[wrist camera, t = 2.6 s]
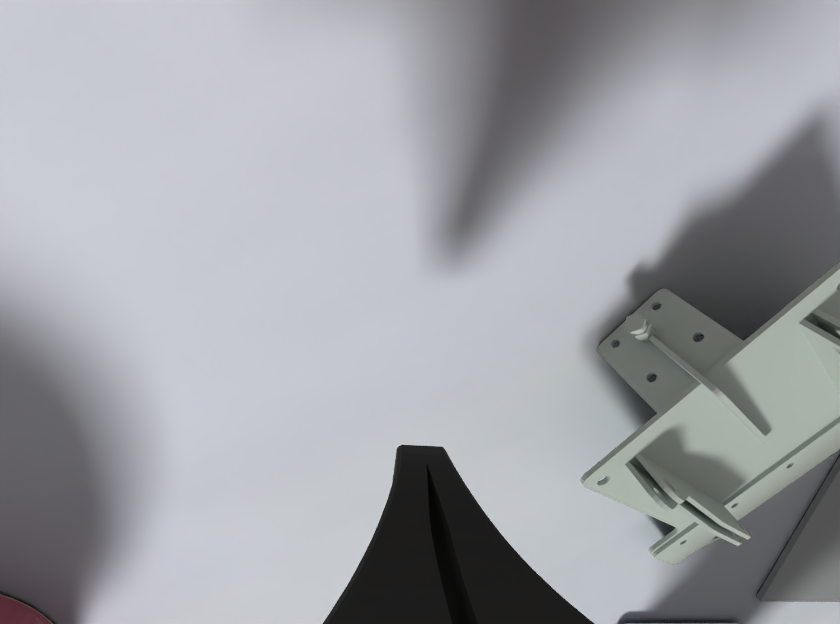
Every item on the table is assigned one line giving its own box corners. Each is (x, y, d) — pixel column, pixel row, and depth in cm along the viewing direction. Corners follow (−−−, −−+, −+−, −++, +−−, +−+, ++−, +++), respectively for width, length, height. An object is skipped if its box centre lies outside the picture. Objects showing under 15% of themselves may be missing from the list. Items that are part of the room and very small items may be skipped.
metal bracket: (552, 561, 14) (1005, 207, 10) (484, 429, 19) (779, 150, 15) (709, 600, 22) (1004, 405, 18) (633, 499, 27) (854, 327, 23)
